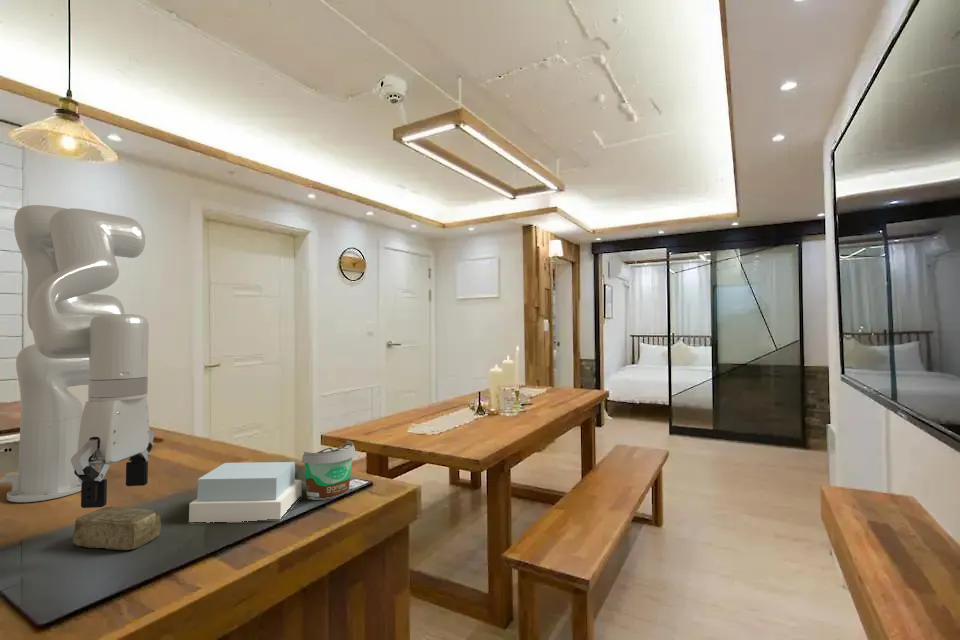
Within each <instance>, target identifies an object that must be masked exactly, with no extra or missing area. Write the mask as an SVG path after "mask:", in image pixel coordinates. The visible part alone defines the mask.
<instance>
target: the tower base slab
mask: <svg viewBox="0 0 960 640" xmlns="http://www.w3.org/2000/svg"><path fill="white" fill-rule="evenodd" d="M302 481H303V479H295V481H294V482H293V483H292V484H291V485H290V486H289V487H288V488H287V489H286V490H285V491H284V492H283V493H282V494H281V495H280V496H279V497H278V498H277V499H276V500H233V501H197V498H195V499H194V500H192V501H191V502H190V503H189V504H188V505H189V507H188V508H189V509H188V511H189V512H188V513H189V514H188V523H189V522H206V523H205V524H211V523H210V522H213V523H212V524H215V523H214V522H227V523H245V522H244V521H247V522H246V523H249V522H248V521H257V520H267V519H281V517H282V516H283V515H284V514H285V513H286V512H287V510H288V509H289V508H290V507H291V505H292V504H293V503H294V502H295V501H296V500H297V498H298V497H299V496H300V495H301V496H302V492H303V491H302V490H303V489H302V488H303V487H302V483H303V482H302ZM242 521H243V522H242Z"/></svg>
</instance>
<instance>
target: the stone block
mask: <svg viewBox="0 0 960 640" xmlns="http://www.w3.org/2000/svg"><path fill="white" fill-rule="evenodd" d="M161 523H162V522H161V515H160V514H159V512H158V511H157V510H156V509H146V508H137V507H136V508H135V507H134V508H133V507H121V506H104V507H101V508H99V509H96V510H95V511H91V512H89V513H86V514H84V515H82V516H77V517H76V520H75V522H74V531H73V534H72V544H73V545H76V546H78V547H81V546H82V547H84V548H87V547H88V548H87V549H98V548H105V549H104V550H114V551H115V550H116V551H129V550H135V549H137V548H140V547H142V546H144V545H147V544H149V543H150V541H151V542H153V541H154V540H155V539H157V538H158V537H159V536H160V534H161V532H162V531H161V526H162V525H161ZM148 542H149V543H148Z"/></svg>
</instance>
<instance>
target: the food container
mask: <svg viewBox="0 0 960 640" xmlns="http://www.w3.org/2000/svg"><path fill="white" fill-rule="evenodd" d="M355 456H356V449H355V446H354V443H353V441H350V440H346V443H345V444H344V445H340V446H335V447H327V448H324V449H321V450H320V451H317V452H310V451H309V452H308V451H303V454H302V459H301V463H304V474H305V487H306V489H305V491H306V497H307V496H308V497H315V498H326V497H332V496H336V495H339V494H342V493H344V492H346V491H347V490H348V489H349V490H350V483H351V473H352V466H353V465H352V463H353V457H355Z"/></svg>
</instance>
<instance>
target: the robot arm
mask: <svg viewBox="0 0 960 640" xmlns="http://www.w3.org/2000/svg"><path fill="white" fill-rule="evenodd" d="M13 222H14V223H13V224H14V225H13V228H14V229H13V230H14V236H15V241H16V243H17V246H18V249H19V251H20V253H21V256H22V257H23V260H24V262H25V266H26V269H27V301H26V309H27V312H26V314H27V315H26V316H27V324H28V327H29V329H30V330H31V331H32V335H33V341H34V344H31V345H27V346H26V347H24V348H23V349H21V350H20V351H19V352H18V354H17V356H16V361H15V366H16V367H15V368H16V373H17V379H18V386H19V392H20V393H19V395H20V418H19V419H20V423H19V447H18V448H19V451H18V471H16V472H14V471H12V472H11V471H10V472H6V473H5V474H4V476H3V477H2V478H0V485H11V489H10V490H9V491H7V492H6V500H7V501H9V502H11V503H34V502H41V501H48V500H54V499H58V498H62V497H65V496H70V495H74V494H77V493H79V492H80V507H81V509H90V508H93V509H95V508H104V507H106V505H107V503H108V502H107V498H108V497H107V496H108V495H107V494H108V480H107V478H105V476H106V474H107V472H108V470H109V468H110V466H111V465H115V464H116V463H120V462H122V461H124V460H126V459H127V460H128V462H126V463H125V465H126V466H125V486H127V487H141V486H146V485H148V481H149V480H148V477H149V473H148V472H149V460H150V459H151V453H150V452H151V451H152V449H153V442H154V438H155V435H156V433H155V431H153V430H152V429H150V415H149V414H150V413H149V405H148V399H147V397H148V387H149V385H148V384H149V383H148V382H149V380H148V379H149V378H148V375H149V373H148V372H149V339H150V337H149V335H150V334H149V333H150V332H149V331H150V330H149V329H150V328H149V321H148V319H147V318H146V316H143V315H141V314H132V313H131V314H130V313H125V308H124V306H123V303H122V302H121V301H120V300H119V299H118V298H117V297H116V296H113V295H108V294H99V293H98V294H97V293H95V292H99V291H102V290H104V289H107V288H109V287H111V286H112V285H113V284H115V283H116V281H118V279H119V275H120V271H119V267H118V263H117V259H116V257H121V258H128V259H129V258H131V259H134V258H135V259H136V258H137V257H140V255H142V253H143V252H144V250H145V246H146V236H145V235H146V234H145V231H144V230H143V227H142V225H141V224H140V223H139V222H138V221H137V220H136V219H134V218H132V217H130V216H129V217H128V216H126V215H125V216H124V215H119V214H115V213H107V212H104V211H103V212H101V211H97V210H96V211H95V210H92V209H83V208H73V207H72V208H67V207H66V208H65V207H64V208H63V207H59V206H53V205H43V204H30V205H25V206H22V207H20V208H19V209H18V210H17V211H16V213H15V215H14V221H13ZM77 386H88V387H87V388H88V389H87V391H88V392H87V398H88V400H86V401H85V404H84V407H83V404H82V403H81V401H80V400H79V398H77V396H75V395H74V394H73V393H72V392H70V390H68V388H70V387H77ZM94 467H98V469H97V470H96V469H95V468H94Z"/></svg>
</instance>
